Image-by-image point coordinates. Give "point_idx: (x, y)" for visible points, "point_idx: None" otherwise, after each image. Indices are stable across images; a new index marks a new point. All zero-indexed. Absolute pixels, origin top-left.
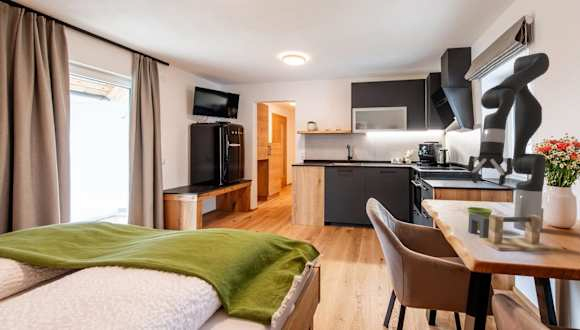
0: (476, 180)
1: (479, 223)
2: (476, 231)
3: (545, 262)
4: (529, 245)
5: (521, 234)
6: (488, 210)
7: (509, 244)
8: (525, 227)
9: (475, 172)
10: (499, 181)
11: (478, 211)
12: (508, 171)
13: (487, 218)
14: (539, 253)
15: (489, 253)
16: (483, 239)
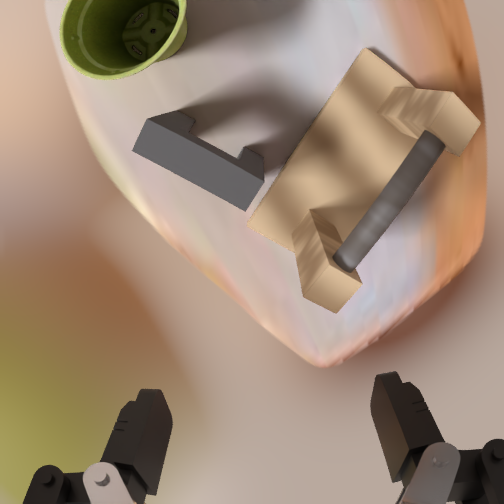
0: (160, 419)
1: (163, 56)
2: (191, 124)
3: (439, 264)
4: (401, 162)
5: None
6: None
7: (353, 210)
8: (400, 119)
9: (140, 498)
10: (381, 434)
11: (140, 70)
12: (470, 498)
13: (252, 187)
14: (425, 194)
15: (327, 313)
16: (271, 226)
